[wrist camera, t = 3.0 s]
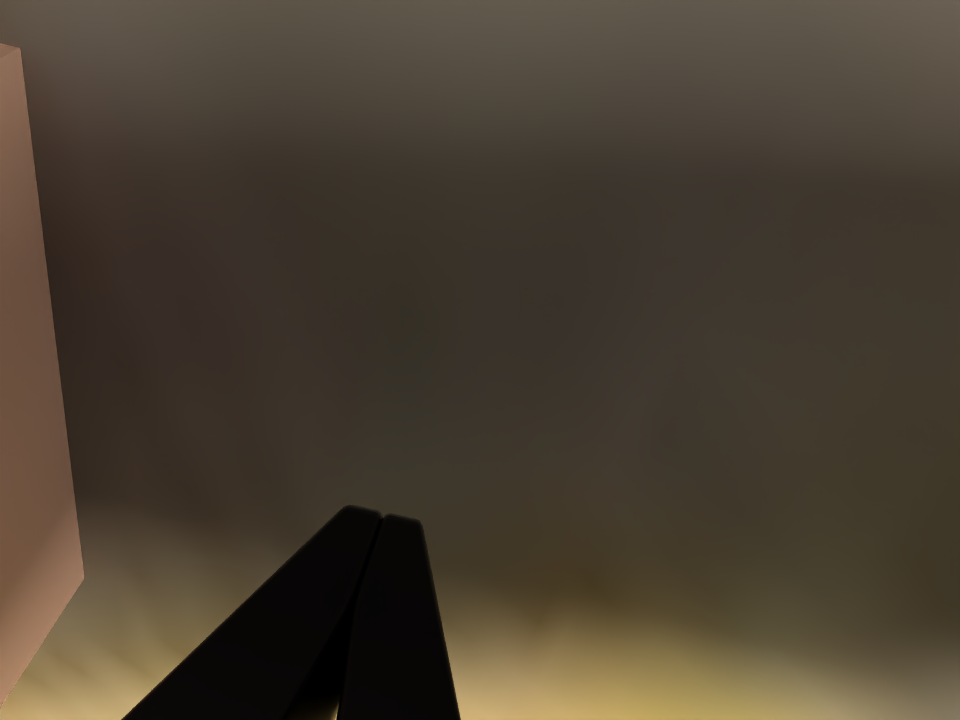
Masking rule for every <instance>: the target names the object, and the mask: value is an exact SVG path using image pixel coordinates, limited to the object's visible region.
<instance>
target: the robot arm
mask: <svg viewBox="0 0 960 720" xmlns="http://www.w3.org/2000/svg"><path fill="white" fill-rule="evenodd" d="M336 715H337V719H336V720H461V718H460V713H459V708H458V703H457V698H456V693H455V688H454V683H453V678H452V672H451V667H450V662H449V657H448V652H447V647H446V642H445V637H444V632H443V627H442V621H441V616H440V611H439V606H438V601H437V596H436V591H435V586H434V581H433V576H432V571H431V565H430V560H429V555H428V550H427V545H426V540H425V535H424V530H423V526H422V524H421V522H420V521H419V520H417V519H413V518H409V517H404V516H400V515H395V514H386V515H385V516H384V517H383V516H382V514H381V513H380V512H379V511H377V510H372V509H368V508H363V507H359V506H354V505H348V506H345V507H343V508H342V509H341V510H340V511H339V512H338V513H336V514H335V515H334V516H333V517H332V518H331V519H330V520H329V521H328V522H327V523H326V524H325V525H324V526H323V527H322V528H321V529H320V530H319V531H318V532H317V533H316V534H315V535H314V536H312V537H311V538H310V539H309V540H308V541H307V542H306V543H305V544H304V545H303V546H302V547H301V548H300V549H299V550H298V551H297V552H296V553H295V554H294V555H293V556H292V557H291V558H289V559H288V560H287V561H286V562H285V563H284V564H283V565H282V566H281V567H280V568H279V569H278V570H277V571H276V572H275V573H274V574H273V575H272V576H271V577H270V578H269V579H268V580H267V581H265V582H264V583H263V584H262V585H261V586H260V587H259V588H258V589H257V590H256V591H255V592H254V593H253V594H252V595H251V596H250V597H249V598H248V599H247V600H246V601H245V602H244V603H243V604H241V605H240V606H239V607H238V608H237V609H236V610H235V611H234V612H233V613H232V614H231V615H230V616H229V617H228V618H227V619H226V620H225V621H224V622H223V623H222V624H221V625H220V626H218V627H217V628H216V629H215V630H214V631H213V632H212V633H211V634H210V635H209V636H208V637H207V638H206V639H205V640H204V641H203V642H202V643H201V644H200V645H199V646H198V647H197V648H196V649H194V650H193V651H192V652H191V653H190V654H189V655H188V656H187V657H186V658H185V659H184V660H183V661H182V662H181V663H180V664H179V665H178V666H177V667H176V668H175V669H174V670H173V671H172V672H170V673H169V674H168V675H167V676H166V677H165V678H164V679H163V680H162V681H161V682H160V683H159V684H158V685H157V686H156V687H155V688H154V689H153V690H152V691H151V692H150V693H149V694H147V695H146V696H145V697H144V698H143V699H142V700H141V701H140V702H139V703H138V704H137V705H136V706H135V707H134V708H133V709H132V710H131V711H130V712H129V713H128V714H127V715H126V716H125V717H123V718H122V719H121V720H335V717H336Z"/></svg>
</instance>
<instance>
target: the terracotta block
mask: <svg viewBox="0 0 960 720" xmlns="http://www.w3.org/2000/svg"><path fill="white" fill-rule="evenodd" d="M83 580H84V570H83V562H82V553H81V545H80V537H79V529H78V520H77V512H76V504H75V496H74V487H73V479H72V471H71V463H70V454H69V446H68V438H67V430H66V421H65V413H64V405H63V397H62V388H61V380H60V372H59V364H58V355H57V347H56V339H55V331H54V322H53V314H52V306H51V298H50V289H49V281H48V273H47V265H46V256H45V248H44V240H43V231H42V223H41V215H40V207H39V198H38V190H37V182H36V174H35V165H34V157H33V149H32V141H31V132H30V124H29V116H28V108H27V99H26V91H25V83H24V75H23V66H22V58H21V50H20V48H19V47H14V46H10V45H6V44H1V43H0V707H1V706H2V704H3V703H4V701H5V700H6V698H7V697H8V695H9V694H10V692H11V690H12V689H13V687H14V686H15V684H16V683H17V681H18V680H19V678H20V677H21V675H22V674H23V672H24V670H25V669H26V667H27V666H28V664H29V663H30V661H31V660H32V658H33V657H34V655H35V654H36V652H37V650H38V649H39V647H40V646H41V644H42V643H43V641H44V640H45V638H46V637H47V635H48V633H49V632H50V630H51V629H52V627H53V626H54V624H55V623H56V621H57V620H58V618H59V617H60V615H61V613H62V612H63V610H64V609H65V607H66V606H67V604H68V603H69V601H70V600H71V598H72V597H73V595H74V593H75V592H76V590H77V589H78V587H79V586H80V584H81V583H82V581H83Z"/></svg>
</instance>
